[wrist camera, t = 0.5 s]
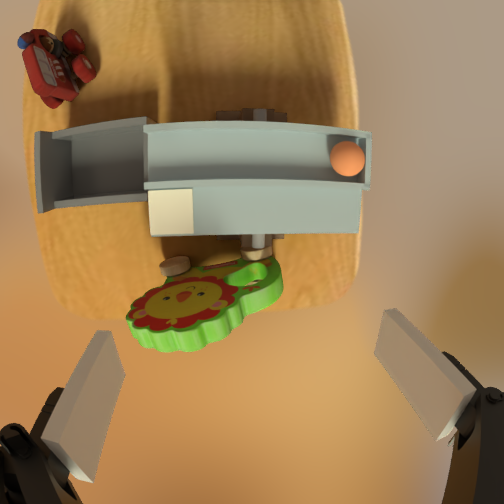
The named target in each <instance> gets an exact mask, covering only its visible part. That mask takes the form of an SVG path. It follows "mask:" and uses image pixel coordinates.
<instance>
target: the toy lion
mask: <svg viewBox="0 0 504 504" xmlns="http://www.w3.org/2000/svg"><path fill="white" fill-rule="evenodd" d="M240 250H241V256H242V258H240V259H237V260H234V261H230V262H226V263H221V264H216V265H210V266H202V267H190V266H191V264H190V261H189V258H188V257H187V256H177V257H173V258H169V259H167V260H165V261H163V262H162V263H161V264H160V265H159V267H160V270H161V274H162V275H163V276H167V279H166V281H165V283H164V284H163V285H162V286H160V287H156V288H153V289H150V290H149V291H147V292H146V293H145V294H144V296H142V297H140V298H138V299H136V300H135V301H134V302H133V303H132V304H131V310H130V311H129V312H128V313H127V315H126V320H127V323H128V325H129V328H130V330H131V333H132V335H133V337H134V338H136V339H138V342H139V344H140V345H141V346H143V347H145V348H155V349H156V350H158V351H160V352H173V351H177V350H181V351H184V352H193V351H197V350H200V349H202V348H203V347H205V346H206V345H207V344H208V343H212V342H216V341H220V340H222V339H224V338H225V337H227V336H228V335H229V334H230V333H231V331H232V329H234V328H236V327H238V326H239V325H240V324H242V322H243V319H244V317H245V316H247V315H249V314H252V313H255V312H257V311H260V310H262V309H264V308H266V307H268V306H270V305H271V304H273V303H274V302H275V301H276V300H278V298H279V297H280V296H281V294H282V292H283V280H282V273H281V268H280V265H279V263H278V261H277V260H276V259H275V258H274V257H272V256H271V255H272V253H273V252H272V246H265V247H264V248H253V247H241V249H240ZM245 285H247V286H245Z"/></svg>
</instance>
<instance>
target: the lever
mask: <svg viewBox="0 0 504 504" xmlns="http://www.w3.org/2000/svg"><path fill="white" fill-rule="evenodd" d="M143 132H145V133H147V134H148V181H147V182H144V190H146V189H149V191H148V203H149V220H150V234H151V236H152V237H160V236H193V235H234V234H252V247H253V248H264V247H265V234H296V233H358V232H359V222H360V210H361V196H362V190H370V178H371V151H372V150H371V149H372V132H367V131H360V130H353V129H346V128H338V127H330V126H321V125H311V124H299V123H285V122H267V110H266V109H254V110H253V121H195V122H175V123H161V124H150V125H143ZM343 141H350V142H354V143H356V144H357V145H358V146H359V147H360V148H361V149H362V150H363V152H364V155H365V164H364V167H363V169H362V170H361V171H360V172H359V173H358V174H356V175H353V176H343V175H341V174H339V173H337V172H336V171H335V170H334V169H333V167H332V165H331V163H330V153H331V150H332V148H333V147H334V146H335V145H336V144H338V143H340V142H343Z"/></svg>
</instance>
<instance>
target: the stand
mask: <svg viewBox="0 0 504 504" xmlns="http://www.w3.org/2000/svg"><path fill="white" fill-rule="evenodd" d="M253 110H254V109H250V108H243V109H242V111H217V113H216V121H253ZM266 110H267V122H285V123H287V113H277V112H274V109H266ZM272 239H284V234H265V246H272ZM217 240H240V242H241V246H242V247H252V234H234V235H217Z"/></svg>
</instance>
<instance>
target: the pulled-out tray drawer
mask: <svg viewBox="0 0 504 504" xmlns="http://www.w3.org/2000/svg"><path fill="white" fill-rule="evenodd" d="M150 124H158V123H156V122H155V121H153V120H152V119H150V118H148V117H147V116H145V117H136V118H128V119H120V120H113V121H107V122H100V123H94V124H89V125H83V126H78V127H73V128H68V129H64V130H59V131H55V132H46V131H38V132H35V145H34V157H35V185H36V198H37V209H38V213H44V212H47V211H50V210H52V209H56V208H65V207H76V206H86V205H98V204H111V203H125V202H141V201H148V191H149V189H146V190H144V182H147V181H148V134H147V133H145V132H143V125H150Z"/></svg>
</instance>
